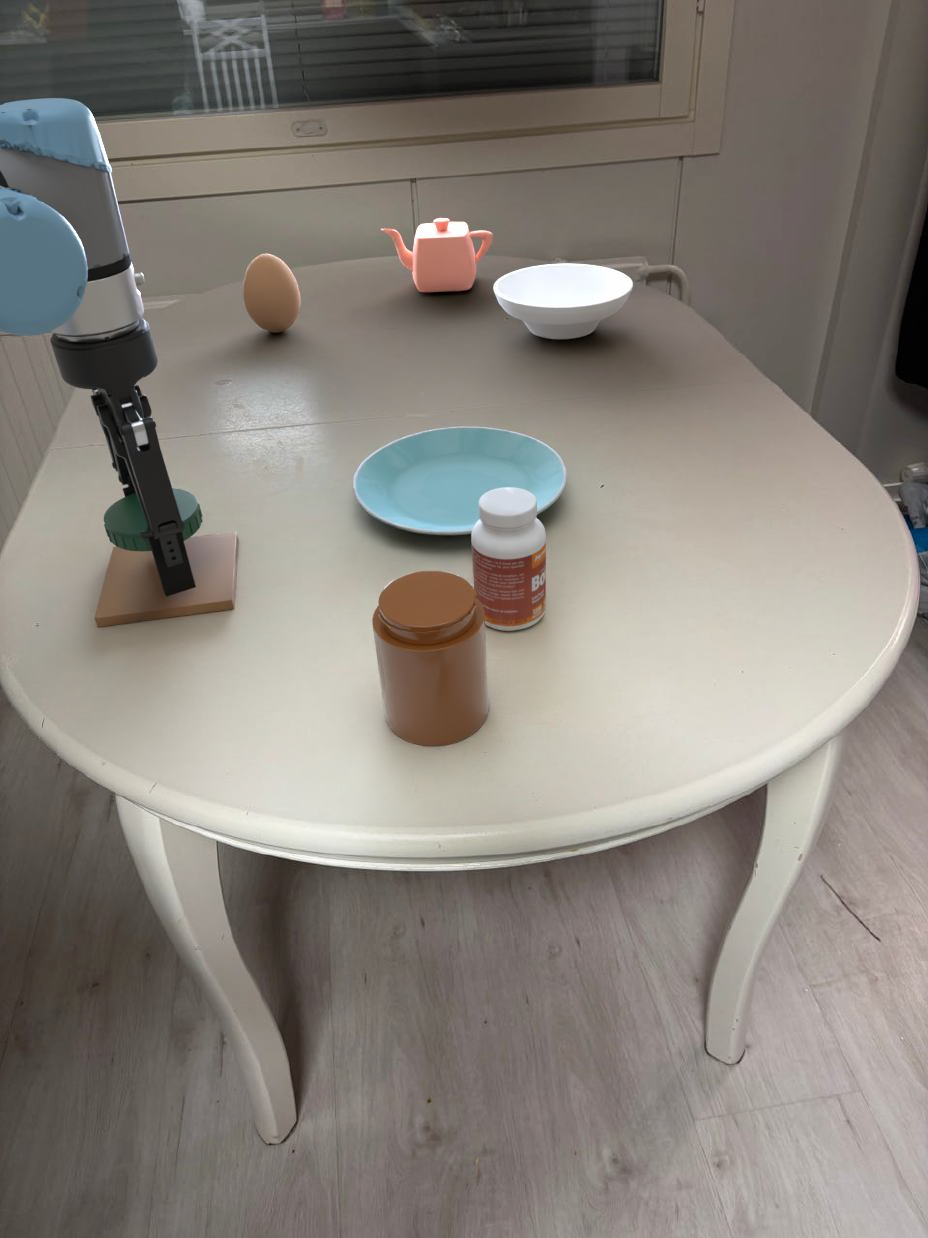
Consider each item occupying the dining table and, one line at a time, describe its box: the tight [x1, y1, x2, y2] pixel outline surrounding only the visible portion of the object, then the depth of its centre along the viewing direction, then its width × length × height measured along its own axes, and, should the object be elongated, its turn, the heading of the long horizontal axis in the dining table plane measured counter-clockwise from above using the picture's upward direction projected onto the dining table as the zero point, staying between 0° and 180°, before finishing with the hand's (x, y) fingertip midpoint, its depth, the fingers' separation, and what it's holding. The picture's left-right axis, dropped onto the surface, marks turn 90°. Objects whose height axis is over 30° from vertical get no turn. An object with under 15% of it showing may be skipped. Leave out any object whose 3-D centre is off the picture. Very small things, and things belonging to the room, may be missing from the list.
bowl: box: [493, 263, 634, 340], centre depth 132 cm, size 20×20×7 cm
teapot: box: [380, 217, 494, 294], centre depth 151 cm, size 12×18×10 cm, turn 90°
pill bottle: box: [470, 487, 547, 632], centre depth 77 cm, size 6×6×11 cm
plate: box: [352, 426, 568, 536], centre depth 96 cm, size 22×22×3 cm
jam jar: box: [371, 570, 490, 747], centre depth 68 cm, size 8×8×11 cm
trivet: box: [94, 531, 239, 628], centre depth 87 cm, size 12×12×1 cm
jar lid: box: [103, 487, 203, 551], centre depth 83 cm, size 8×8×2 cm
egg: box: [242, 253, 301, 333], centre depth 137 cm, size 8×8×11 cm
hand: (167, 566), depth 86 cm, fingers closed on jar lid, 8 cm apart
